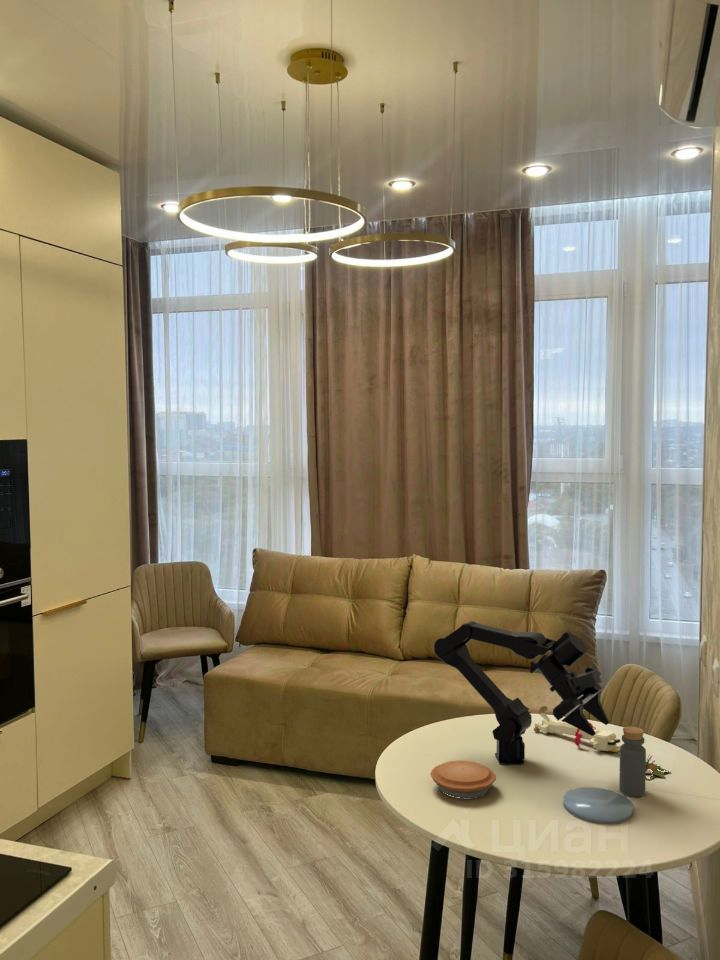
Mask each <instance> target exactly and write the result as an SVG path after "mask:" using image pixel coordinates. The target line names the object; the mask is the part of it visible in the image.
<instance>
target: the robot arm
mask: <svg viewBox="0 0 720 960" xmlns="http://www.w3.org/2000/svg"><path fill="white" fill-rule="evenodd" d="M471 640H475V641H479V642H483V643H486V644H490V645H494V646H497V647H498V646H499V647H501V648H506V649H509V650H510V651H512V653H514V654H516V655H517V656H520V657H522V658H524V659H526V660H532V661H530V667H529V668H530V670H529V672H530V673H531V674H533V673H535V672H536V671H539V672H540V674H541V675H542V677H544V679H545V680H546V682H547V683H549V686H551V687H550V688H549V690H550V692H551V693H552V692H556V694H557V696H559V697H560V699H561V701H560V703H559V704H558V705H556V706H555V707H553V709H552V716H554V718H555V719H556V721H562V722H566V723H568V724H570V725H572V726H574V727H576V728H578V729H580V730H582V731H584V732H586V733H587V734H589V735H591V736H593V735H595V734H596V733H595V731H594V729H593V728H592V726H591V725H590V723H591V722H590V721H589V720H588V719H587V717H586V716H585V714H584V710H585V711H586V712H587V713H589V714H590V715H592V716H593V717H594V718H595V719H596V720H598V721H599V722H600V723H602V724H603V725H605V726H607V725H609V723H610V721H609V718H608V716H607V714H606V712H605V710H604V707H603V705H602V702H601V696H602V695H601V694H602V689H603V688H602V686H601V685H600V684H601V683H602V679H601V675H602V673H601V671H599V670H598V668H595V667H596V666H595V667H594V665H591V666H588V667H585V670H584V672H583V673H581V674H577V673H576V672H575V671H569V670H568V668H567V667H566V666H568V667H571V666H573V665H574V664H575V663H576V662H577V661H578V660H579V659H581V658H582V657H584V656H585V655H586V654H587V653H588V647H587V645H586V643H585V642H584V641H583V639H581V638H580V637H578V636H577V635H575V634H573V633H572V632H571V631H570V630H567V631H566V632H564V633H563V634H562V635H561V637H560V638H559V639H557V640H555V639H551V638H548V637H546V636H545V635H544V634H543V633H541V632H539V631H538V632H537V631H536V632H535V631H517V632H516V631H511V630H506V629H503V628H498V627H494V626H490V625H487V624H481V623H478V622H476V621H474V620H473V621H471V620H470V621H468V622H465V623H463V624H462V625H461V626H460V627H458V628H456V630H454V631H453V632H451V633H450V634H448V635H446V636H443V637H440V638H438V639H436V641H435V642H434V645H433V648H434V650H433V652H434V654H435V656H437V658H439V660H441V661H442V662H443V663H445V664H446V665H448V666H451V667H452V668H454V669H456V670H457V671H458V672H459V673H460V674H461V675H462V677H464V678H465V680H466V681H467V682H468V683H469V684H470V685H471V687H473V689H475V691H476V692H477V693H478V694H479V695H480V696H481V697H482V698H483V700H484V701H485V702H486V703H487V705H489V706H490V707H491V709H492V710H493V711H494V715H495V719H496V722H497V724H498V726H496V728H495V729H493V730H492V735H493V738H494V740H496V752H495V753H494V756H495V758H496V760H497V762H498V764H499V765H524V764H525V760H524V759H525V757H526V755H525V754H526V753H525V752H526V751H525V749H526V747H525V746H526V744H525V741H524V740H523V739H524V738H523V737H522V735H525V732H526V731H527V730H528V729H529V728H530V727H531V725H532V721H533V720H532V717H533V716H532V715H531V712H530V711H529V710H530V707H527V706H526V705H525V704H524V703H523V702H522V700H521V699H520V698H519V697H516V698H514V699H511V698H509V697H508V696H506V695H505V694H504V692H503V691H502V690H501V689H500V688H499V687H498V686H497V685H496V683H495V682H494V681H493V680H492V679H491V678H490V677H489V676H488V675H487V674H486V672H485V671H484V670H483V669H482V668H481V667H480V666H479V665H478V664H477V663H476V662H475V661H474V659H473V658H472V657H471V655H470V651H469V649H468V646H467V644H468V643H470V642H471ZM550 652H551V653H550ZM548 653H550V654H549V655H547V654H548ZM539 656H541V657H540V658H539V659H538V660H535V658H537V657H539ZM533 659H534V660H533ZM589 722H590V723H589Z"/></svg>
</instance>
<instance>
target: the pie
mask: <svg viewBox="0 0 720 960" xmlns="http://www.w3.org/2000/svg"><path fill="white" fill-rule="evenodd" d="M429 775H430V777H431V779H432V780H433V782H434V783H435V784H436V786H437V787H438V789H439V790H441V791H442V792H444V793H446V794H448V795H451V796H454V797H460V798H474V799H476V798H475V797H478V798H481V797H482V795H483V796H485V794H486V793H487V792H488V791H489V789H490V787H491V786H492V785H493V783H495V782H496V780H497V776H496V774H495V772H494V771H493V770H492V769H491V768H489V767H486V766H485V765H483V764H481V763H477V762H475V761H469V760H450V761H446V762H443V763H442V764H438V765H436V766H435V767H434V768H432V769H431V772H430V774H429ZM441 791H440V792H441ZM442 792H441V793H442ZM444 793H443V794H444ZM480 796H481V797H480Z"/></svg>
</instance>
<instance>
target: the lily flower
mask: <svg viewBox="0 0 720 960" xmlns="http://www.w3.org/2000/svg"><path fill="white" fill-rule="evenodd" d="M649 756H650V754H648V756H647V758H646V772H647V771H648V769H651V770H652V771H653V772H652V773H651V772H647V774H650V775H651V774H654V776H651V777H650V779H649V780H648V779H647V778H646V779H645V780H648V781H650V780H652V779H654V778H655V777H656V776H658V777H661V778H663V779H666V778H665V775H664V774H665V773H663V772H661V771H664V770H665V771H668V772H667V773H669V774H670V772H669V770H667V769H665V768H660V767H661V765H660V766H657V765H658V764H655V762H656V760H652V757H653V755H651V756H650V757H649ZM651 760H652V762H651V763H650V761H651ZM657 769H659V770H661V771H658V770H657ZM667 773H666V774H667Z"/></svg>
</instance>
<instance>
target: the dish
mask: <svg viewBox="0 0 720 960" xmlns="http://www.w3.org/2000/svg"><path fill="white" fill-rule="evenodd" d="M563 807H564V809H565V811H567V812H568V813H569V814H570V815H572V816H574V817H576V818H578V819H580V820H583V821H586V822H591V823H595V824H618V823H619V824H620V823H622V822H625V821H628V820H629V819H631V817H632V816H633V807H634V806H633V803H632V801H631V800H630V799H629V798H628V796H627V797H626V795H624V794H623V793H621V792H620V793H619V792H616V791H614V790H611V789H607V788H603V787H602V788H601V787H592V786H590V787H589V786H585V787H577V788H573V789H569V790H568V791H567V792H565V794H564V795H563Z"/></svg>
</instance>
